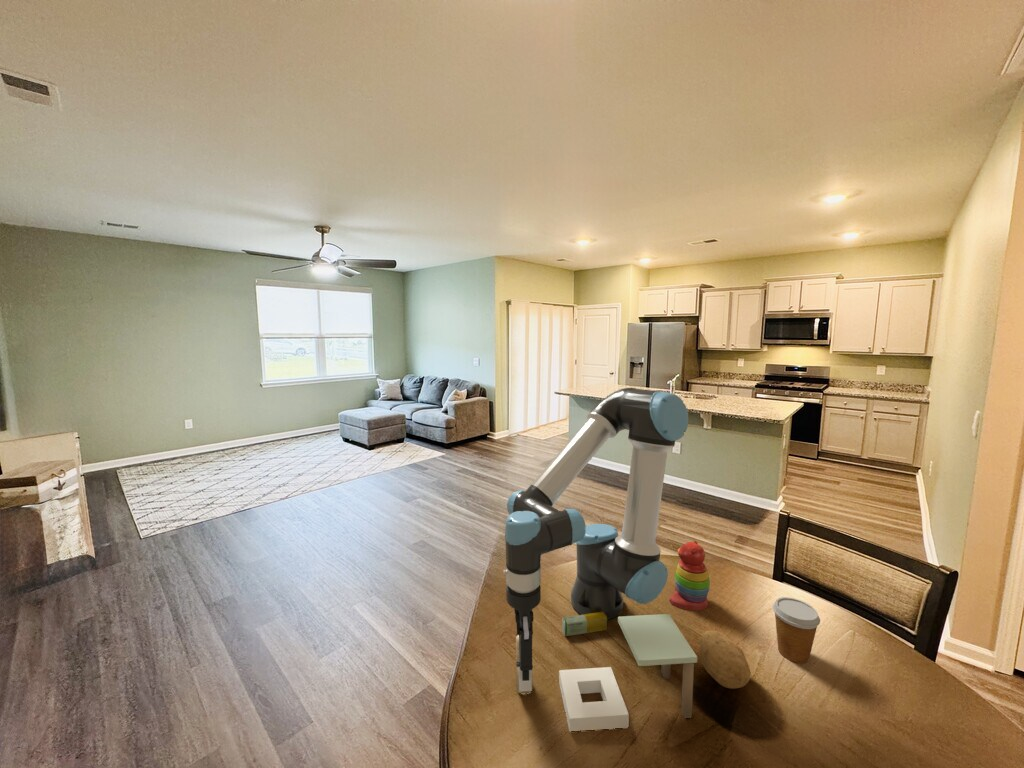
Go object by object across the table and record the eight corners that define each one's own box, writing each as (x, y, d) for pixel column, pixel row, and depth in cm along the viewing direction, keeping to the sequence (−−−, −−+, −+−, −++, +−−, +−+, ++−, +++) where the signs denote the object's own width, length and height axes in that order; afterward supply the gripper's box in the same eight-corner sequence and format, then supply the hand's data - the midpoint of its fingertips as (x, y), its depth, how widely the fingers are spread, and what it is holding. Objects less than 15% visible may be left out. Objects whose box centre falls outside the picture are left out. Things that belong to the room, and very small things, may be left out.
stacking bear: (677, 585, 129) (678, 531, 127) (712, 597, 123) (714, 540, 121) (667, 603, 120) (669, 546, 118) (704, 616, 115) (707, 556, 113)
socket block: (559, 682, 93) (559, 670, 93) (610, 678, 94) (610, 666, 94) (569, 732, 82) (569, 718, 81) (628, 728, 82) (628, 714, 82)
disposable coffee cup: (825, 671, 95) (829, 623, 94) (780, 665, 97) (783, 618, 96) (805, 642, 105) (808, 598, 103) (764, 637, 106) (766, 594, 105)
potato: (728, 652, 102) (730, 622, 101) (761, 702, 88) (763, 668, 87) (688, 652, 102) (689, 622, 101) (715, 702, 88) (716, 667, 87)
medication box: (564, 637, 108) (564, 623, 107) (561, 630, 110) (561, 616, 110) (607, 630, 110) (607, 617, 110) (603, 623, 113) (603, 610, 112)
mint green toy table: (617, 673, 96) (618, 616, 94) (667, 669, 96) (668, 613, 95) (637, 725, 83) (638, 660, 81) (694, 720, 84) (697, 656, 82)
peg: (516, 682, 94) (515, 633, 92) (531, 681, 94) (531, 632, 93) (517, 695, 90) (516, 645, 89) (533, 694, 90) (532, 644, 89)
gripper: (504, 564, 97) (506, 654, 100) (508, 609, 81) (509, 716, 83) (535, 562, 98) (536, 653, 100) (545, 607, 81) (546, 714, 84)
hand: (524, 681), depth 92 cm, fingers closed on peg, 3 cm apart
